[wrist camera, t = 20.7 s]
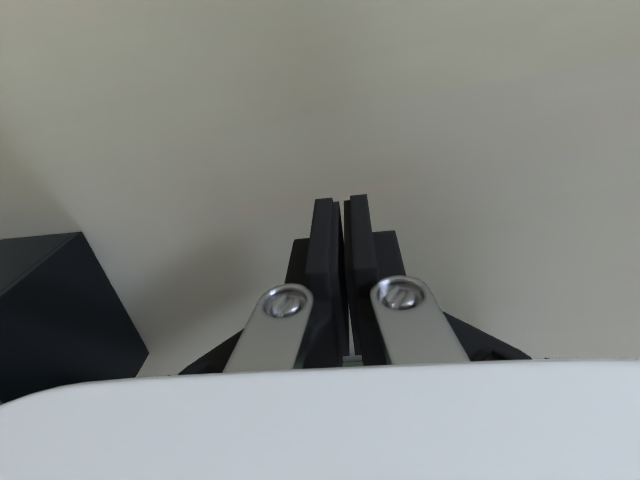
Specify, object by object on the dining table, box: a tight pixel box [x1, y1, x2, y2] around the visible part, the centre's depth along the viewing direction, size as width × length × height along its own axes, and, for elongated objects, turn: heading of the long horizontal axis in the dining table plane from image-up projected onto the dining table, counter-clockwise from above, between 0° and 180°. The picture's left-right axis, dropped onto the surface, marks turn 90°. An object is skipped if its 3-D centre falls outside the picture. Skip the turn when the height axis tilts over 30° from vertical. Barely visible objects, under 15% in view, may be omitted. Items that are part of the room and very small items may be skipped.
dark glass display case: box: [0, 232, 149, 405], centre depth 15 cm, size 8×5×6 cm, turn 8°
